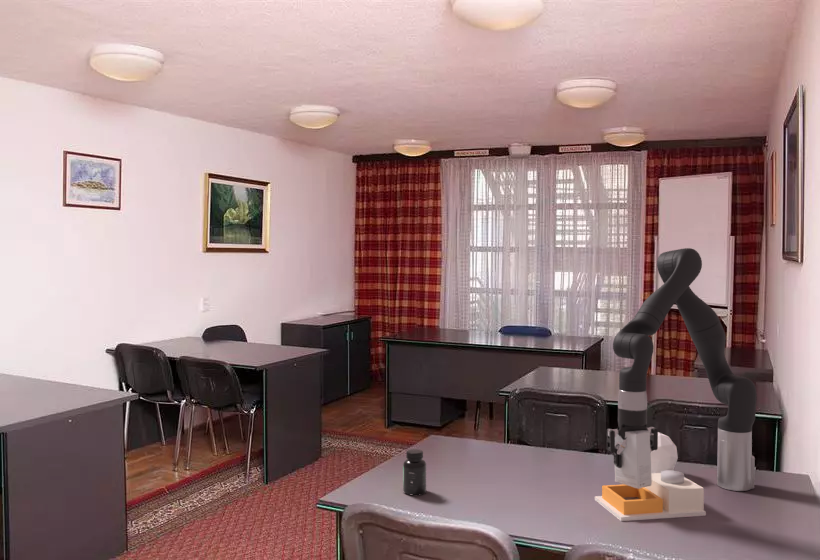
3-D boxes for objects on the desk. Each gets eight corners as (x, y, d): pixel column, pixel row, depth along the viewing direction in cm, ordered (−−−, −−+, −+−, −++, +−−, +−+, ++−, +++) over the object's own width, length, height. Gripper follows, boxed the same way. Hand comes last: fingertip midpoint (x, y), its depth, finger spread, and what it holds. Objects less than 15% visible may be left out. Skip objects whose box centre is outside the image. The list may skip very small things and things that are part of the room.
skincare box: (652, 485, 186) (652, 431, 186) (637, 490, 183) (637, 434, 182) (626, 477, 193) (627, 424, 193) (612, 481, 190) (612, 427, 189)
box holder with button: (673, 495, 199) (673, 464, 198) (705, 515, 183) (706, 481, 183) (594, 499, 195) (594, 468, 195) (621, 521, 179) (621, 486, 179)
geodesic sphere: (622, 461, 211) (652, 425, 210) (614, 449, 225) (642, 415, 224) (663, 492, 210) (693, 456, 209) (652, 478, 224) (680, 444, 223)
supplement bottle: (398, 493, 200) (398, 452, 200) (409, 486, 206) (409, 446, 206) (419, 497, 197) (419, 455, 197) (430, 490, 203) (430, 449, 203)
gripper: (649, 402, 192) (649, 461, 193) (601, 404, 190) (601, 463, 190) (664, 408, 185) (663, 469, 185) (614, 410, 182) (613, 472, 183)
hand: (631, 466), depth 188 cm, fingers closed on skincare box, 7 cm apart
